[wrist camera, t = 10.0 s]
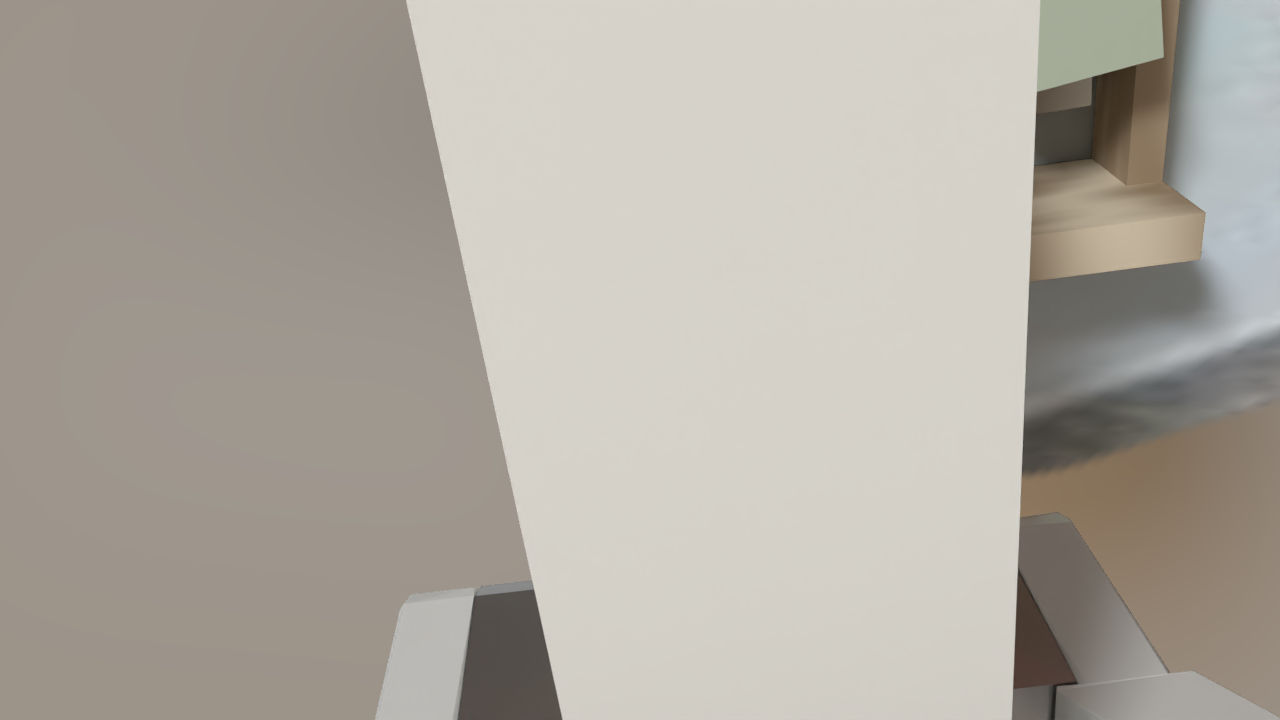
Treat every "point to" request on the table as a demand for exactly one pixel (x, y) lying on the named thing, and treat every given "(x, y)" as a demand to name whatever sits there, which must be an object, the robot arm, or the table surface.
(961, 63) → the off-white rectangular board
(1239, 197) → the table surface
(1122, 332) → the table surface
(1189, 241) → the rack
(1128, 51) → the offcut top
